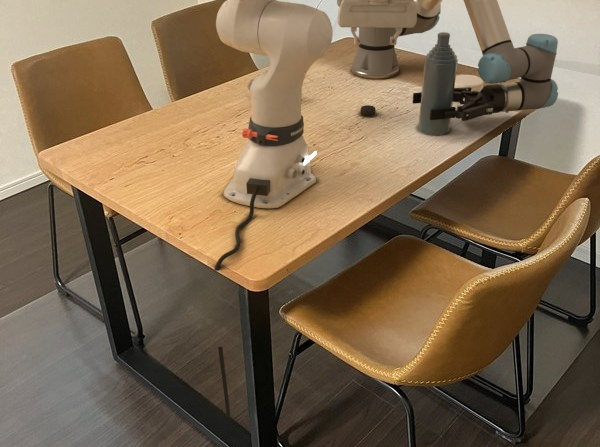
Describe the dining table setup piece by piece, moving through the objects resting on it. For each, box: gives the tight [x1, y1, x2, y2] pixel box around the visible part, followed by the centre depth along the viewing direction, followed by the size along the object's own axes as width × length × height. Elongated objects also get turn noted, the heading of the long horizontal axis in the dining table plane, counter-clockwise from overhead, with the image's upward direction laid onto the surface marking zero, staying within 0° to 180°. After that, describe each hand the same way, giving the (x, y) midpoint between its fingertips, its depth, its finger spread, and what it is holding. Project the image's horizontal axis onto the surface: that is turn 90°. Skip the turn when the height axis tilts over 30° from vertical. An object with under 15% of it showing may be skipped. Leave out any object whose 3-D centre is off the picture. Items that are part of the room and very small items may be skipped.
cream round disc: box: [455, 74, 485, 92], centre depth 187 cm, size 10×10×4 cm
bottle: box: [417, 31, 459, 136], centre depth 158 cm, size 8×8×25 cm
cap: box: [359, 104, 377, 118], centre depth 173 cm, size 4×4×2 cm
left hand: (375, 44), depth 163 cm, fingers open, 8 cm apart
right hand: (421, 106), depth 160 cm, fingers open, 11 cm apart
